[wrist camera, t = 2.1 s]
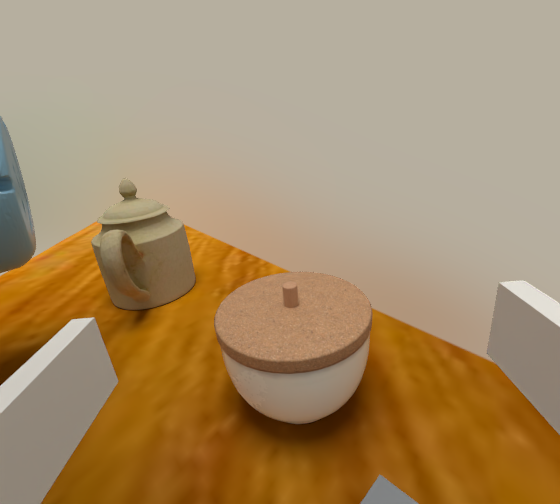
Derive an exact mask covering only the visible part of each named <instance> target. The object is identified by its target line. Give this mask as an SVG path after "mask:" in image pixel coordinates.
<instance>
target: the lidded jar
mask: <svg viewBox="0 0 560 504" xmlns="http://www.w3.org/2000/svg"><path fill="white" fill-rule="evenodd" d="M371 325H372V309H371V304H370V302H369V300H368V298H367V297H366V296H365V295H364V293H363V292H362V291H361V290H360V289H358V288H357V287H356V286H355V285H353V284H351V283H349V282H347V281H345V280H343V279H341V278H338V277H334V276H331V275H326V274H321V273H314V272H289V273H281V274H275V275H270V276H266V277H263V278H260V279H257V280H254V281H251V282H249V283H247V284H245V285H243V286H241V287H239V288H238V289H236V290H235V291H233V292H232V293H231V294H230V295H228V296H227V297H226V298H225V299H224V301H223V302H222V303H221V304H220V306H219V308H218V310H217V312H216V315H215V319H214V326H215V331H216V335H217V340H218V342H219V344H220V346H221V351H222V355H223V358H224V362H225V366H226V368H227V371H228V373H229V376H230V378H231V380H232V382H233V383H234V385H235V387H236V389H237V391H238V392H239V393H240V395H241V396H242V397H243V398H244V399H245V400H246V401H247V403H248V404H249V405H251V406H252V407H253V408H254V409H255V410H257V411H259V412H260V413H262V414H264V415H266V416H267V417H270V418H272V419H275V420H278V421H283V422H287V423H291V424H306V423H311V422H314V421H317V420H319V419H321V418H324V417H326V416H328V415H330V414H332V413H334V412H335V411H337V410H338V409H339V408H340V407H342V406H343V405H344V404H345V403H346V402H347V401H348V400H349V399H350V398H351V396H352V395H353V393H354V392H355V390H356V389H357V387H358V385H359V383H360V382H361V379H362V376H363V373H364V370H365V367H366V364H367V358H368V353H369V340H370V331H371Z"/></svg>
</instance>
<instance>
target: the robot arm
mask: <svg viewBox="0 0 560 504" xmlns="http://www.w3.org/2000/svg"><path fill="white" fill-rule="evenodd" d="M35 249H36V239H35V231H34V226H33V220H32V215H31V210H30V206H29V202H28V197H27V193H26V189H25V185H24V182H23V178H22V174H21V171H20V167H19V163H18V160H17V156H16V153H15V150H14V147H13V144H12V141H11V138H10V135H9V132H8V130H7V127H6V125H5V124H4V122H3V120H2V118H1V116H0V273H2V272H5V271H9V270H12V269H15V268H19V267H21V266H23V265H24V264H25V263H27V262H28V261H29V260H30V259H31V258H32V256H33V255H34V252H35ZM487 354H488V355H489V356H490V357H491V358H492V360H493V361H494V362H495V363H496V364H497V365H498V366H499V367H500V369H501V370H502V371H503V372H504V373H505V374H506V375H507V376H508V378H509V379H510V380H511V381H512V382H513V383H514V384H515V385H516V386H517V388H518V389H519V390H520V391H521V392H522V393H523V394H524V395H525V397H526V398H527V399H528V400H529V401H530V402H531V403H532V404H533V405H534V407H535V408H536V409H537V410H538V411H539V412H540V413H541V414H542V416H543V417H544V418H545V419H546V420H547V421H548V422H549V423H550V425H551V426H552V427H553V428H554V429H555V430H556V431H557V432H558V433H559V435H560V303H558V302H557V301H555V300H554V299H552V298H551V297H549V296H548V295H546V294H544V293H543V292H541V291H539V290H538V289H537V288H535V287H534V286H532V285H530V284H529V283H527V282H526V281H524V280H521V281H510V282H500V283H499V284H498V290H497V296H496V302H495V308H494V314H493V320H492V325H491V332H490V338H489V343H488V349H487ZM117 383H118V379H117V376H116V374H115V371H114V368H113V366H112V363H111V360H110V358H109V355H108V352H107V350H106V347H105V344H104V342H103V339H102V337H101V334H100V331H99V329H98V326H97V323H96V321H95V318H83V319H72V320H71V321H70V322H69V323H68V324H67V325H66V326H65V327H63V328H62V329H61V330H60V331H59V332H58V333H57V334H56V335H55V336H54V337H53V338H52V339H50V340H49V341H48V342H47V343H46V344H45V345H44V346H43V347H42V348H41V349H40V350H39V351H37V352H36V353H35V354H34V355H33V356H32V357H31V358H30V359H29V360H28V361H27V362H26V363H25V364H23V365H22V366H21V367H20V368H19V369H18V370H17V371H16V372H15V373H14V374H13V375H12V376H10V377H9V378H8V379H7V380H6V381H5V382H4V383H3V384H2V385H1V386H0V504H40V503H41V502H42V500H43V499H44V497H45V496H46V494H47V493H48V491H49V489H50V488H51V486H52V485H53V483H54V482H55V480H56V478H57V477H58V475H59V474H60V472H61V471H62V469H63V467H64V466H65V464H66V463H67V461H68V460H69V458H70V457H71V455H72V453H73V452H74V450H75V449H76V447H77V446H78V444H79V442H80V441H81V439H82V438H83V436H84V435H85V433H86V432H87V430H88V428H89V427H90V425H91V424H92V422H93V421H94V419H95V417H96V416H97V414H98V413H99V411H100V410H101V408H102V406H103V405H104V403H105V402H106V400H107V399H108V397H109V396H110V394H111V392H112V391H113V389H114V388H115V386H116V385H117Z"/></svg>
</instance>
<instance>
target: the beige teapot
mask: <svg viewBox="0 0 560 504" xmlns="http://www.w3.org/2000/svg"><path fill="white" fill-rule="evenodd" d="M119 192H120V194H121V195H122V196H123V197H124V198H125V199H124V200H123V201H121V202H120V203H117V204H116V205H113V206H111V207H109V208H108V209H107V210H106V211H105V212H104V214H103V215H102V216H101V217H99V219H98V220H97V222H98V223H101V224H102V230H101V232H100V233H99V234H98V235H96V236H95V237H94V238H93V239H92V242H91V243H92V246H93V250H94V253H95V256H96V259H97V262H98V265H99V268H100V271H101V273H102V276H103V279H104V281H105V284H106V287H107V289H108V292H109V295H110V297H111V300H112V302H113V304H114V305H115V306H117V307H119V308H122V309H125V310H142V309H148V308H153V307H157V306H160V305H164V304H167V303H169V302H172V301H174V300H176V299H178V298H179V297H181V296H183V295H184V294H186V293H187V292H188V291H189V290H190V289H191V288H192V287H193V286H194V284H195V273H194V268H193V263H192V258H191V253H190V248H189V244H188V240H187V236H186V232H185V228H184V225H183V222H182V221H181V220H179V219H174V218H171V217H170V216H169V215H168V214H167V212H166V211H167V210H168V209H170V208H169V207H168V206H166V205H163V204H161V203H159V202H157V201H155V200H150V199H139V198H136V196H135V195H136V192H137V189H136V187H135V185H134V184H133V183H132V182H131V181H130V180H128V179H126V178H124V179H123V180H122V181H121V183H120V185H119Z"/></svg>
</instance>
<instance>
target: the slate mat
mask: <svg viewBox="0 0 560 504" xmlns="http://www.w3.org/2000/svg"><path fill="white" fill-rule="evenodd" d="M361 504H418V503H417V502H416V501H414V500H413V499H412V498H410V497H409V496H408V495H406V494H405V493H404V492H402V491H401V490H400V489H398V488H397V487H396V486H394V485H393V484H392V483H390V482H389V481H388V480H386V479H385V478H384V477H382V476H381V475H379V477H378V478H377V480H376V481H375V483H374V484H373V486H372V487H371V489H370V490H369V492H368V493H367V495H366V496H365V498H364V499H363V501H362V502H361Z"/></svg>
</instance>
